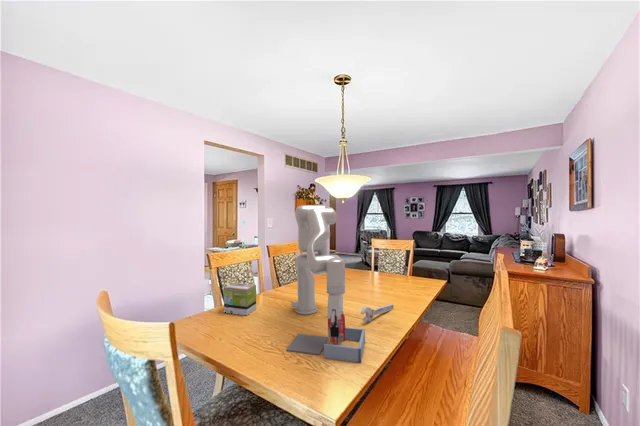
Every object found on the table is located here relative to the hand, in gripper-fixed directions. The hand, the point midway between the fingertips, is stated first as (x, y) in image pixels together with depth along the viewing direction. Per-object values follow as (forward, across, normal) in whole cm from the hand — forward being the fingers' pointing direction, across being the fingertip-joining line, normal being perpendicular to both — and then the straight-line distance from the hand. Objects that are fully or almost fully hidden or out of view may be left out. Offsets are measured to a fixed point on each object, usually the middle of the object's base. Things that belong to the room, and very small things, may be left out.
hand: (336, 331), depth 110 cm
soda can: (+4, 0, 0) cm, 4 cm away
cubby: (+6, 0, +4) cm, 8 cm away
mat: (+7, 0, -12) cm, 14 cm away
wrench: (+7, -36, +16) cm, 40 cm away
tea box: (+7, -27, -60) cm, 66 cm away
